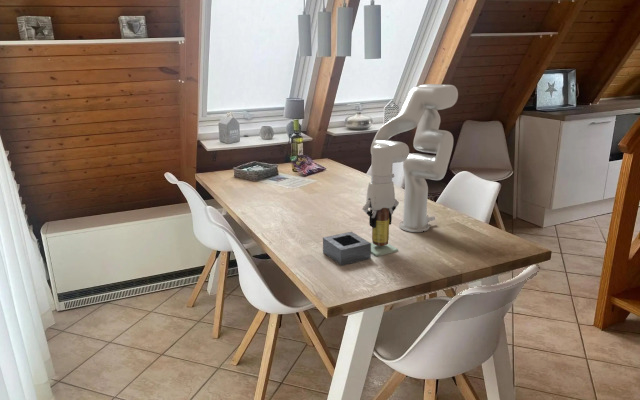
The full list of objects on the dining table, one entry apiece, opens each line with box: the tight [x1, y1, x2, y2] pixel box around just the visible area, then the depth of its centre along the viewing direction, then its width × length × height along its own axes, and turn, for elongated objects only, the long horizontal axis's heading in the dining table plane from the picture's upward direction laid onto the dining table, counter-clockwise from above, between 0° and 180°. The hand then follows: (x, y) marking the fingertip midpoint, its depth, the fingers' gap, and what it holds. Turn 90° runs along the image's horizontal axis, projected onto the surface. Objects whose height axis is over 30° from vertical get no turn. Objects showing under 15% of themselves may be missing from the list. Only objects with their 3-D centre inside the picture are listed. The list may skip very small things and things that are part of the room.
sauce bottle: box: [371, 208, 390, 246], centre depth 182 cm, size 6×6×20 cm
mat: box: [370, 242, 399, 257], centre depth 185 cm, size 10×10×1 cm
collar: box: [322, 231, 372, 267], centre depth 179 cm, size 12×13×6 cm
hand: (380, 224), depth 182 cm, fingers closed on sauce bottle, 6 cm apart
